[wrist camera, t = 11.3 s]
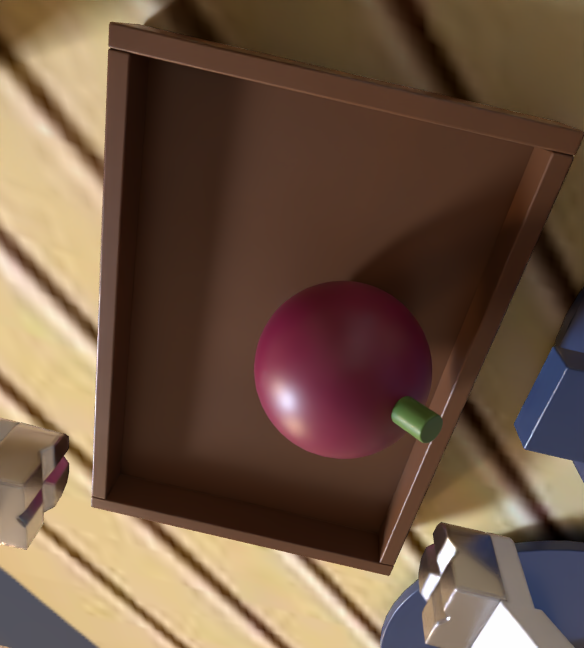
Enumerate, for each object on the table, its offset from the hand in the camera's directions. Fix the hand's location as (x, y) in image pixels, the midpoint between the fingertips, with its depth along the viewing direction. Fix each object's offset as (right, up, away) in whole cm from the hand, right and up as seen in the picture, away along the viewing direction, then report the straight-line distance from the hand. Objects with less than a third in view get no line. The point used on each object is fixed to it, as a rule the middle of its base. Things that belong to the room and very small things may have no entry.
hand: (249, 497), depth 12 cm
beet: (+1, +3, +6) cm, 7 cm away
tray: (+1, +3, +8) cm, 8 cm away
